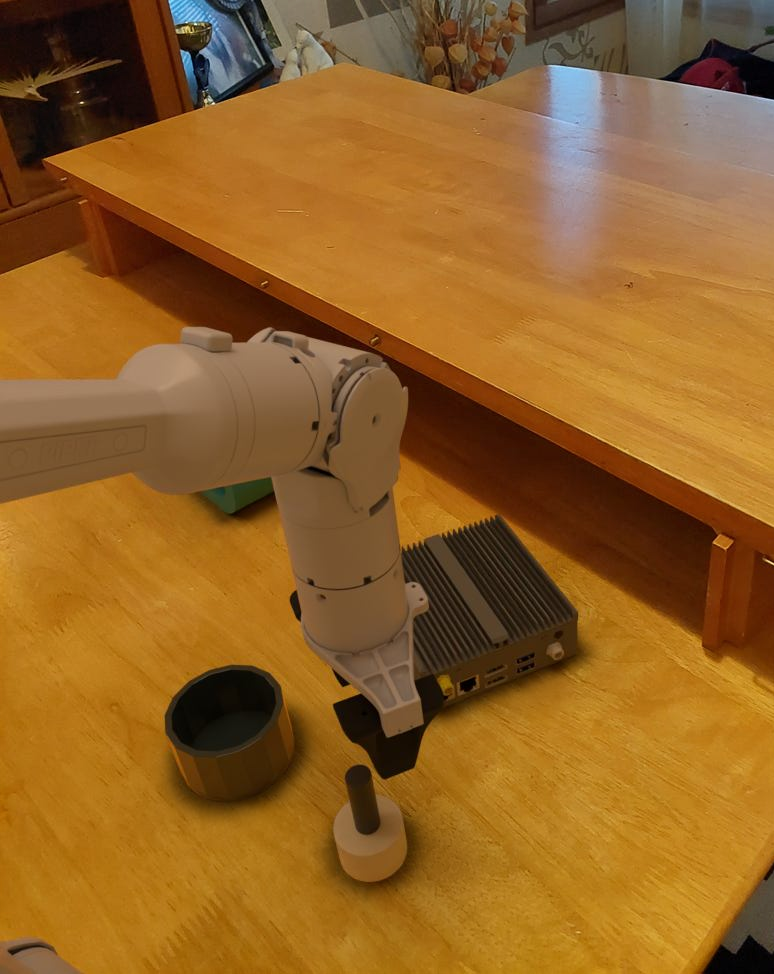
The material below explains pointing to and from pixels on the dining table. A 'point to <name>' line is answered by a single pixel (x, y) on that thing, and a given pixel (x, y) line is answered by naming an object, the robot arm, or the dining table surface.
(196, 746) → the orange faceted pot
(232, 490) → the tape dispenser
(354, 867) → the brush
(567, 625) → the electronic device
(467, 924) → the dining table surface
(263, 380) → the robot arm
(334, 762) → the dining table surface
